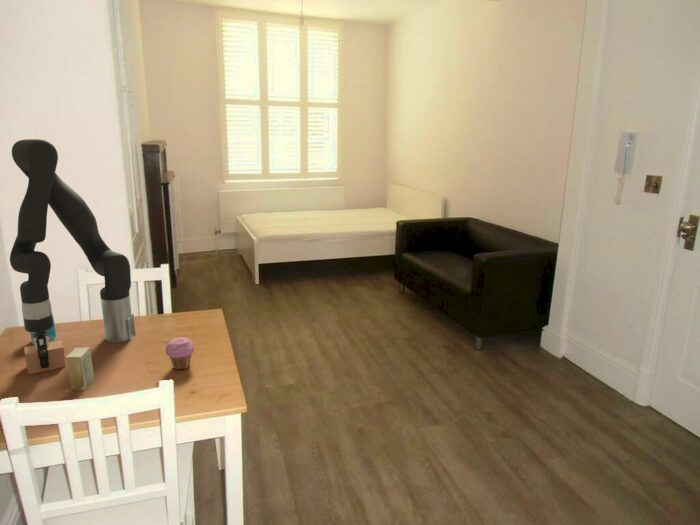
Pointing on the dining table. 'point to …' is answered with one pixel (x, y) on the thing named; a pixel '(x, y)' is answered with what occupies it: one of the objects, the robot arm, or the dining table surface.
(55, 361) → the tan wooden block
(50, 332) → the pill bottle
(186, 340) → the cupcake
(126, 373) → the dining table surface
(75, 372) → the skincare box
